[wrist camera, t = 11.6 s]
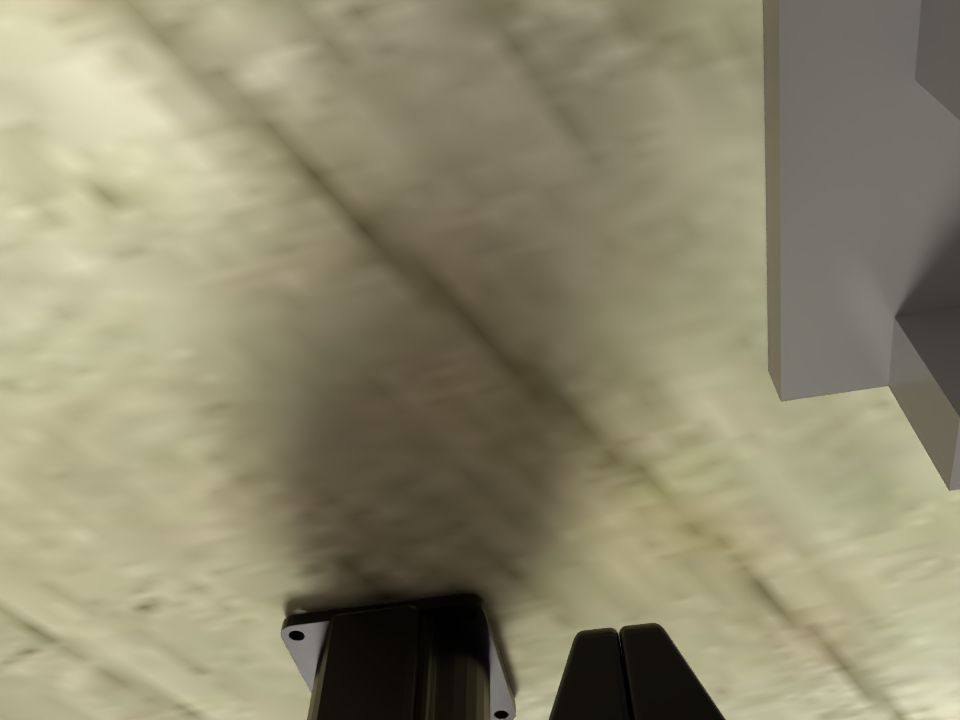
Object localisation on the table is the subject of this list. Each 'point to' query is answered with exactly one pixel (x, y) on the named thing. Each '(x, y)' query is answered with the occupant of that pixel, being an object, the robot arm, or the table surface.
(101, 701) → the table surface
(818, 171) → the rail
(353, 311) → the table surface
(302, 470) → the table surface
